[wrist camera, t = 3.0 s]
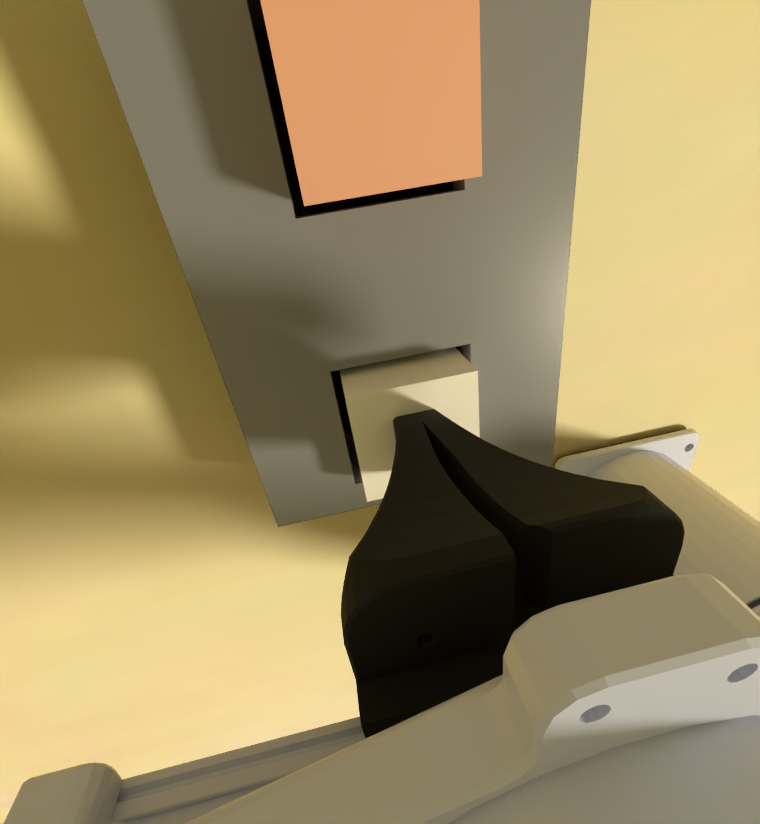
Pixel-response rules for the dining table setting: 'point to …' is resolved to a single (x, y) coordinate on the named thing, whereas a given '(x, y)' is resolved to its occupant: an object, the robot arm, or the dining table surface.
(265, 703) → the dining table surface
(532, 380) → the block
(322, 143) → the button
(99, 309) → the dining table surface
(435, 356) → the button
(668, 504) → the robot arm
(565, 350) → the dining table surface
